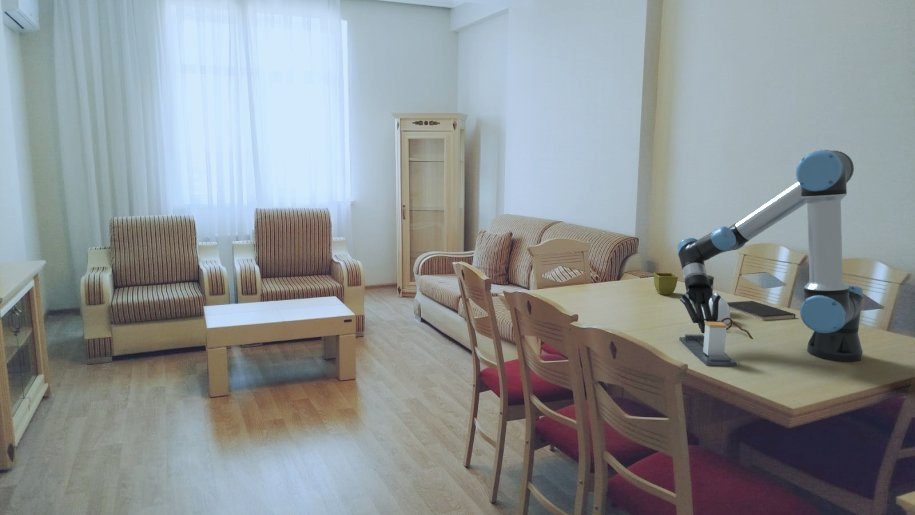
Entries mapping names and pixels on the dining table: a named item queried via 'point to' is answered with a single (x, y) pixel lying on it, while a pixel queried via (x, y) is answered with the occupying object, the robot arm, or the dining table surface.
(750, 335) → the glasses
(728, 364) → the board
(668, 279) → the flower pot
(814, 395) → the dining table surface
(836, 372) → the dining table surface
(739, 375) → the dining table surface
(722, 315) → the teardrop
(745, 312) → the hardcover book
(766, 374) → the dining table surface
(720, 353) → the fader knob
